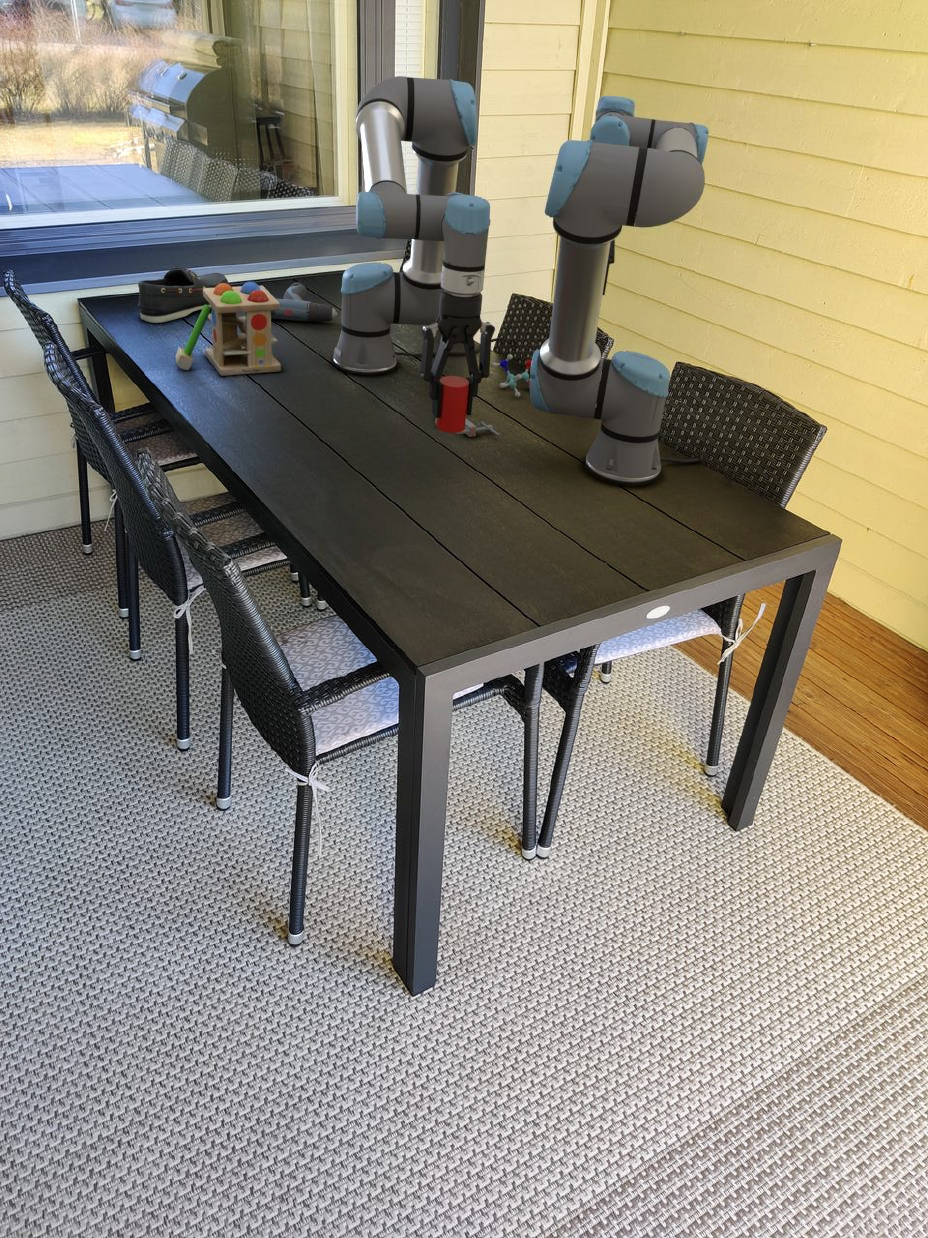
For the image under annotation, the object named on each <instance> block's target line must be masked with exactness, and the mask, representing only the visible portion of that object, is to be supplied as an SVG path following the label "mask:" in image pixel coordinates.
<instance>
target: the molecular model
mask: <svg viewBox="0 0 928 1238" xmlns="http://www.w3.org/2000/svg"><path fill="white" fill-rule="evenodd" d="M511 360H513V354H511V353H509V354H508V355H507V358H506V359H503V360H501V361H500V362H495V361H494V362H492V363H491V367H492V368H494V369H495V368H497V367H498V366H499V367H501V368H503V369H504V370H505V372H506V375H507V376H506V381H505V382H500V383H499V388H500V389H505V388H507V387H509V388H510V389H513V391H514V396H515V398H520V397H521V393H520V392H519V391H518V389H517V388H516V387H517V382H518V381H519V380H523V381H525V382H526V384H527V386H528V389H529V390H530V374H529V373H528V372H529V370H530V368H531V362H532V359H527V360H526V361H525V365H526V367H525V370H524V372H522V373H518V374H516V375H514V374H513V373H511V372H510V370H509V368H508V364H509V363H508V362H509V361H511Z"/></svg>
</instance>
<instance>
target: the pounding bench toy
mask: <svg viewBox="0 0 928 1238" xmlns="http://www.w3.org/2000/svg"><path fill="white" fill-rule="evenodd" d="M203 296H204V297H205V299H206V300H207V301H208V302H209V304H210V305H211V307H210V306H208V305H204V307H203V309H201V312H200V313H199V316H198V318H197V320H196V322H195V324H194V327H193V329H192V331H191V332H190V333H191V334H190V336H189V338H188V340H187V343H186V344H185V347H184V348H182V347H180V346H179V347H178V349H177V351H176V354H175V357H174V358H175V362H176V365H177V366H178V368H179V369H182V370H185V371H189V370H190V369H191V367H192V365H193V363H194V356H193V351H194V348H195V347H196V345H197V342H198V340H199V337H200V336H201V333H202V332H203V329H204V326H205V325H206V322H207V320H209V321H210V322H211V336H212V337H211V338H212V339H211V340H212V348H205V349H204V352H205V353H204V355H205V357H206V359H208V361H209V363H210V364H211V365H212V366H213V367H214V369H215V370H216V371H217V372H218V374H219V375H220V376H222V377H223V376H234V375H235V376H236V375H246V374H247V375H250V374H262V373H275V372H281V370H282V364H281V363H280V362H279V360H278V359H277V358H276V357H275V356H274V355H273V348H272V347H273V345H272V344H276V343H278V342H279V341H278V339H277V338H276V337H275V336H274V334H272V318H271V310H280V303H279V302H278V301H277V300H276V299H277V298H276V297H274V296H273V295H272V294H271V293H270V292H269V290H268V289H267V288H266V287H264V285H259V284H257V283H256V282H255V281H247V282H245V283H244V284H243V285H242V286H232V285H230V284H229V285H228V284H226V283H221V284H218V285H217V286H216V287H215V288H204V289H203ZM238 313H244V314H245V315H244V316H238ZM238 329H239V331H240V333H239V334H238Z"/></svg>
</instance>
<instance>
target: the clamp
mask: <svg viewBox="0 0 928 1238" xmlns="http://www.w3.org/2000/svg"><path fill="white" fill-rule="evenodd" d="M434 423H435V425H436V424H437V418H436V417H435V421H434ZM480 426H481V427H477V425H475V424H474V423H473V422H472V421H471V420H469V419H468V418H466V423H465V429H464V431H462V432H459V433H455V435H464V434H465V435H467V436H468V437H469V438H471V437H476V436H477V433H478V432H484V431H485V432H492V433H493V434H494V435H495V436H496V437H497V438H501V437H502V434H501V432H497V431H496V430H495V429H494V427H493V424H486V423H485V421H484V420H482V421H480Z"/></svg>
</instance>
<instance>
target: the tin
mask: <svg viewBox="0 0 928 1238" xmlns="http://www.w3.org/2000/svg"><path fill="white" fill-rule="evenodd" d="M465 378H466V377H462V376H458V375H457V376H456V375H446V376H441V378H440V382H441V383H442V384H443V390H442V403H441V416H440V418H437V424H436V423H435V425H436V426H435V427H436V428H437V429H438V430H439V431H440V432H444V433H447V434H456V433H459V432H462V431H464V429H465V423H466V419H467V414H466V412H467V401H468V390H469V381H468V380H467V379H465Z"/></svg>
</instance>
